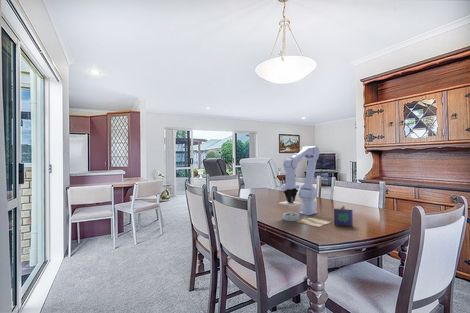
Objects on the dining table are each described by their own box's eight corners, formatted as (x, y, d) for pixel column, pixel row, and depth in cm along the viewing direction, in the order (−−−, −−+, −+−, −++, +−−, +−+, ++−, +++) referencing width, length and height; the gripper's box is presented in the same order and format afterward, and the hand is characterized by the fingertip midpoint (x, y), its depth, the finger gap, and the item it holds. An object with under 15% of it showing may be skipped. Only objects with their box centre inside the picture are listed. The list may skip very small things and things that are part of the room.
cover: (289, 201, 156) (289, 194, 156) (303, 203, 148) (303, 196, 148) (278, 203, 149) (278, 196, 149) (292, 205, 141) (292, 198, 141)
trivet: (310, 217, 151) (310, 217, 151) (332, 222, 140) (332, 221, 140) (296, 222, 142) (296, 221, 142) (317, 227, 131) (317, 226, 131)
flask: (352, 225, 134) (352, 205, 134) (353, 227, 131) (353, 206, 131) (333, 224, 136) (333, 204, 136) (334, 225, 134) (334, 205, 133)
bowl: (290, 216, 155) (289, 212, 155) (302, 219, 148) (302, 214, 148) (280, 219, 149) (280, 214, 149) (292, 222, 142) (292, 217, 142)
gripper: (292, 177, 156) (293, 199, 156) (277, 179, 147) (277, 202, 147) (302, 178, 151) (302, 200, 151) (286, 180, 142) (287, 204, 142)
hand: (290, 201), depth 149 cm, fingers closed on cover, 3 cm apart
